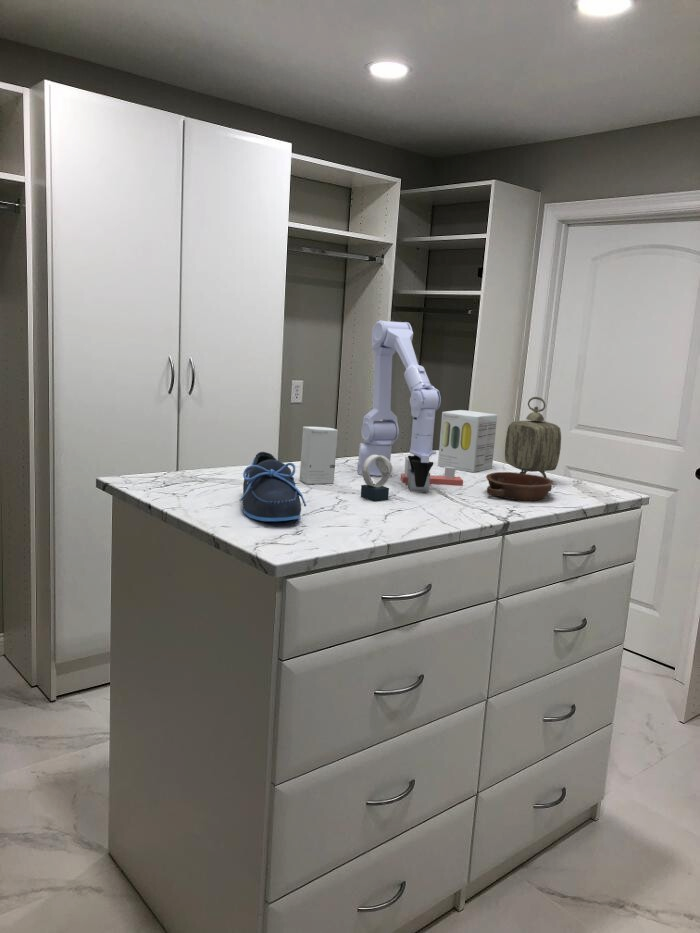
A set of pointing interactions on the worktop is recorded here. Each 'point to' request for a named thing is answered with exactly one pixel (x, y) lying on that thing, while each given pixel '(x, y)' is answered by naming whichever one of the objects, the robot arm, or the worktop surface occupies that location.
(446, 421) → the supplement box
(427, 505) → the worktop surface
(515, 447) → the tabletop clock
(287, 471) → the moccasin
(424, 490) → the grey cube
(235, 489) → the worktop surface
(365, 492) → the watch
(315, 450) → the skincare box
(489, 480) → the dish
